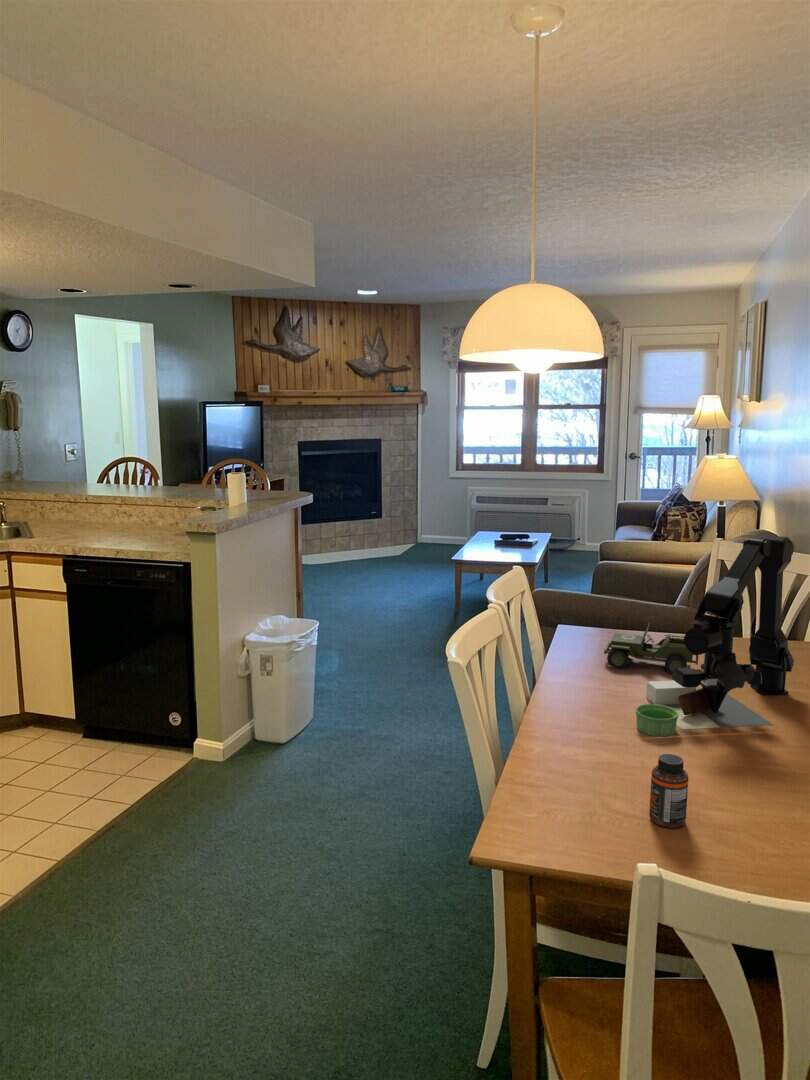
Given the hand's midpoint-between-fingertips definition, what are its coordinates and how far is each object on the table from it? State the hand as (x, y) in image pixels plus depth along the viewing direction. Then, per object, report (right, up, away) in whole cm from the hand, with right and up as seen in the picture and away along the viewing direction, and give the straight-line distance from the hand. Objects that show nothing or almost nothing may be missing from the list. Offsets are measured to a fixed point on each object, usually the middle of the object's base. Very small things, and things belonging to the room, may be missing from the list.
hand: (714, 712), depth 178 cm
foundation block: (-7, +1, +11) cm, 12 cm away
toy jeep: (-3, +4, +37) cm, 37 cm away
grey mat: (0, -1, +4) cm, 5 cm away
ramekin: (-15, -3, -6) cm, 17 cm away
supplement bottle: (-26, -9, -44) cm, 52 cm away
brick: (-1, 0, +2) cm, 3 cm away
